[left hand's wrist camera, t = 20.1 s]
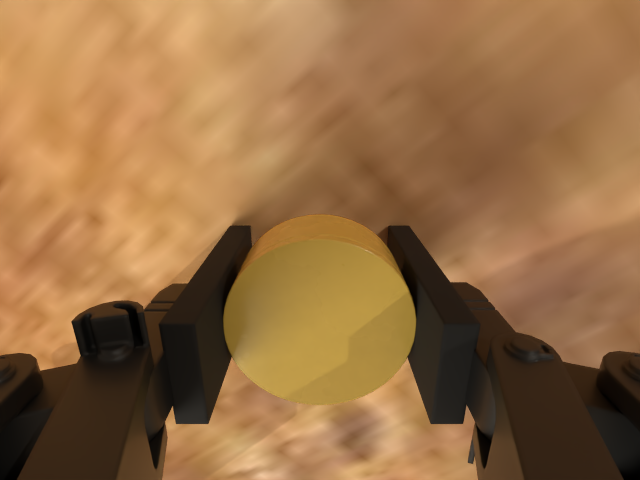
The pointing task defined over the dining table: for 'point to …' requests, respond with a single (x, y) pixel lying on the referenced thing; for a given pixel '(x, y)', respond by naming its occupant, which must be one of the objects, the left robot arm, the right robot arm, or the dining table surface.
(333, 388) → the lid
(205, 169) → the dining table surface
